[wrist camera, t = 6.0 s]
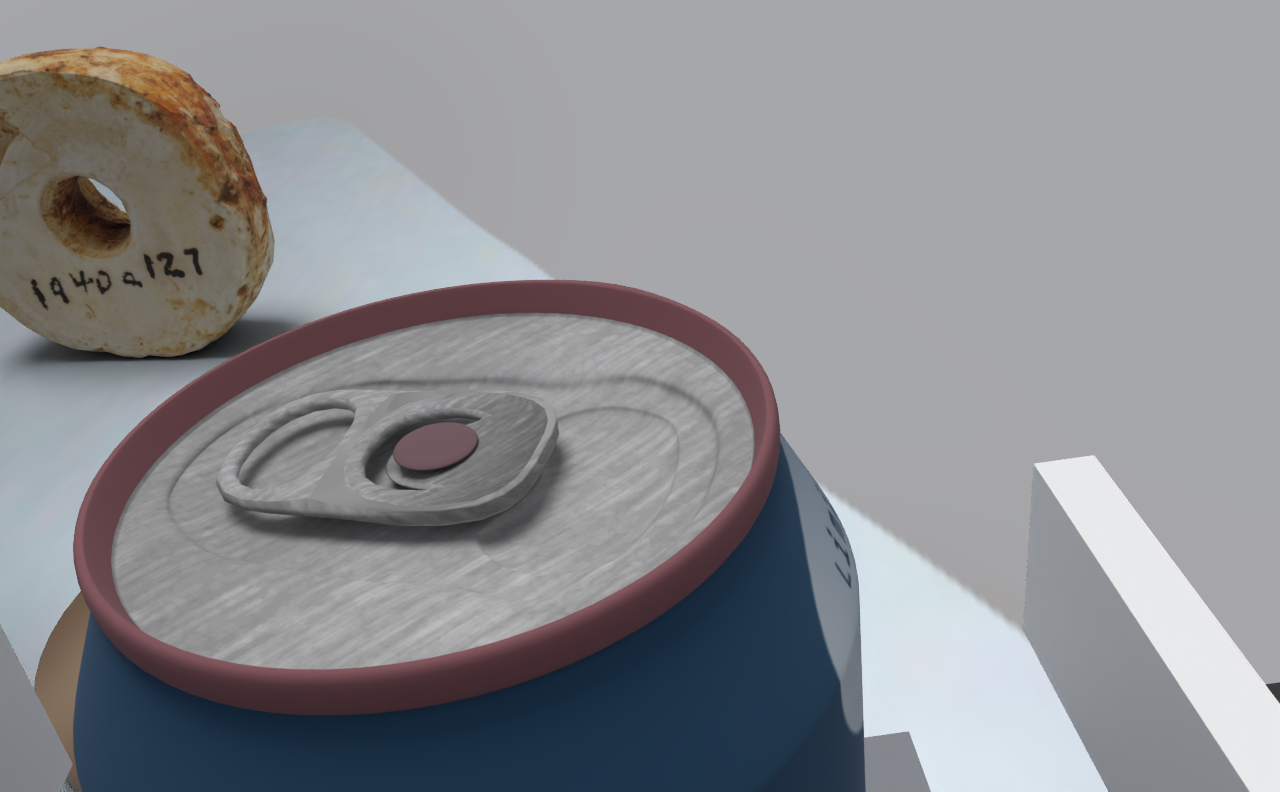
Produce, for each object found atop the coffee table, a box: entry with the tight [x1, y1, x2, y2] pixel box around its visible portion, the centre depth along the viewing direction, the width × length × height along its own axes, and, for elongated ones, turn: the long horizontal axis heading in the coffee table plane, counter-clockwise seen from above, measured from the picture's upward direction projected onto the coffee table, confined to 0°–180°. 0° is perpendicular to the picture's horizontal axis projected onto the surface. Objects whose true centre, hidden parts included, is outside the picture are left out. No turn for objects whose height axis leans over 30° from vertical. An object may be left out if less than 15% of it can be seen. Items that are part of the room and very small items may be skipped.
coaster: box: [34, 591, 90, 792], centre depth 26 cm, size 11×11×1 cm
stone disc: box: [0, 47, 275, 358], centre depth 38 cm, size 10×4×10 cm, turn 79°
